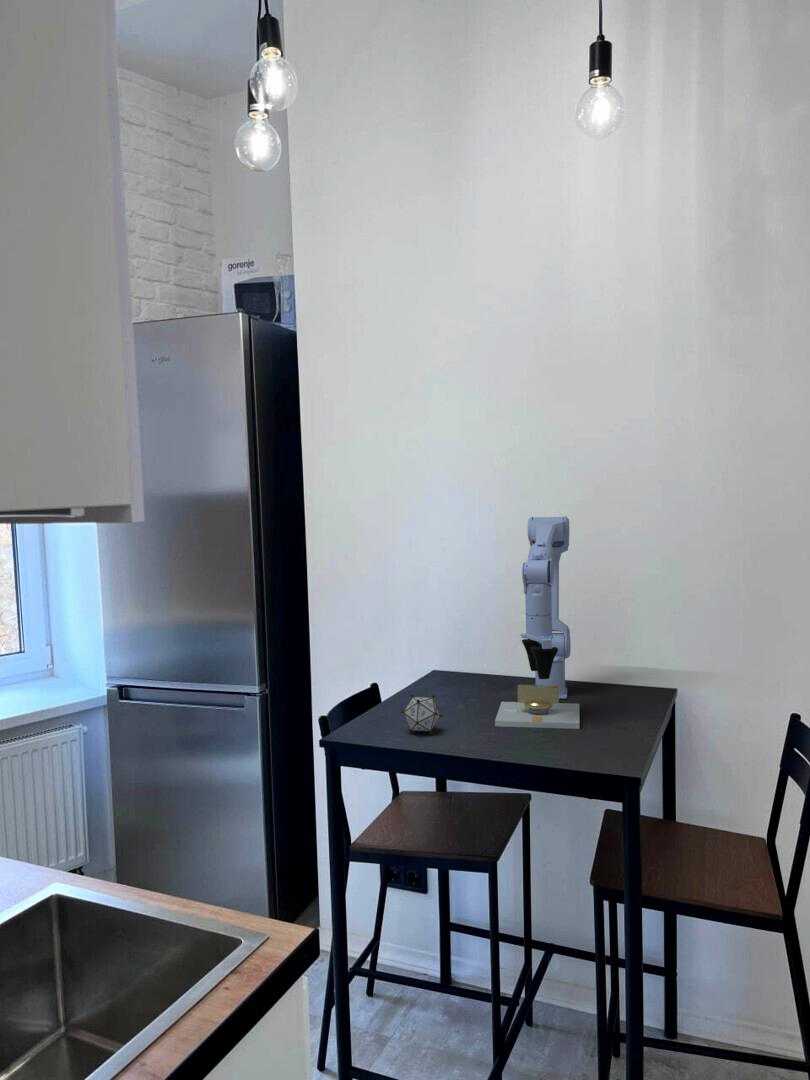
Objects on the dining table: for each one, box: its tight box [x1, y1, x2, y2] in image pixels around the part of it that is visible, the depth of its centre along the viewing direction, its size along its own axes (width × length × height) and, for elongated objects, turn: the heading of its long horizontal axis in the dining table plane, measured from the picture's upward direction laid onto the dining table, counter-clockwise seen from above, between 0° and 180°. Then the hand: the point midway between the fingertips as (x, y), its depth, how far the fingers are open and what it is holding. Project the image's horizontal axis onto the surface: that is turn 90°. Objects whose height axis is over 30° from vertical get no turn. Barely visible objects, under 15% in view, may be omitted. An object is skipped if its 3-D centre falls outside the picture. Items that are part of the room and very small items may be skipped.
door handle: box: [517, 684, 560, 709], centre depth 189 cm, size 6×9×4 cm
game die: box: [399, 693, 444, 736], centre depth 180 cm, size 9×8×10 cm
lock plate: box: [494, 701, 581, 730], centre depth 189 cm, size 16×18×2 cm
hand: (539, 674), depth 187 cm, fingers open, 7 cm apart
